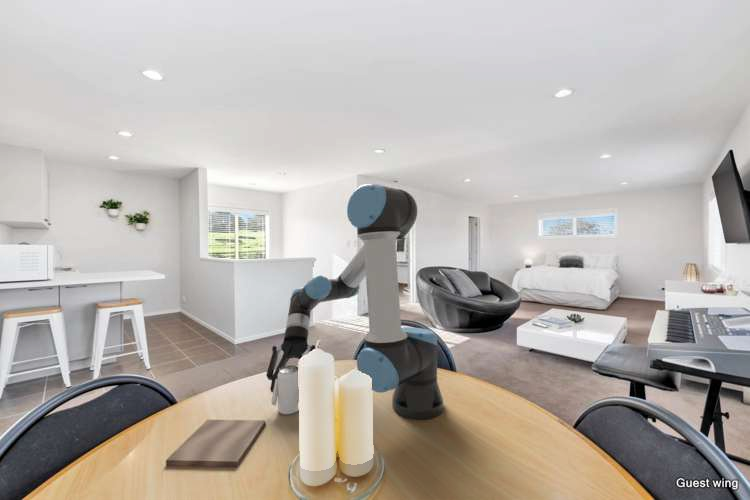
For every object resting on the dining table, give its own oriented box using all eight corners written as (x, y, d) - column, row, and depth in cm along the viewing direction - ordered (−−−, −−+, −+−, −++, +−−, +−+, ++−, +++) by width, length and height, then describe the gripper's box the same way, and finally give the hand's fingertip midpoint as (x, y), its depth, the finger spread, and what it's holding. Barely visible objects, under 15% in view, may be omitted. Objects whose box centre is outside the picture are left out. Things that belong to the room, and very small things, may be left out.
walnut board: (265, 424, 84) (265, 420, 84) (237, 466, 68) (237, 461, 68) (207, 423, 85) (207, 419, 85) (166, 465, 69) (165, 460, 69)
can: (305, 406, 94) (304, 366, 94) (290, 417, 88) (290, 375, 88) (288, 402, 97) (287, 363, 96) (273, 412, 91) (272, 371, 90)
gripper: (327, 335, 108) (321, 406, 92) (270, 336, 107) (254, 408, 91) (325, 324, 102) (319, 397, 86) (265, 325, 101) (248, 399, 85)
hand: (286, 403), depth 89 cm, fingers closed on can, 6 cm apart
